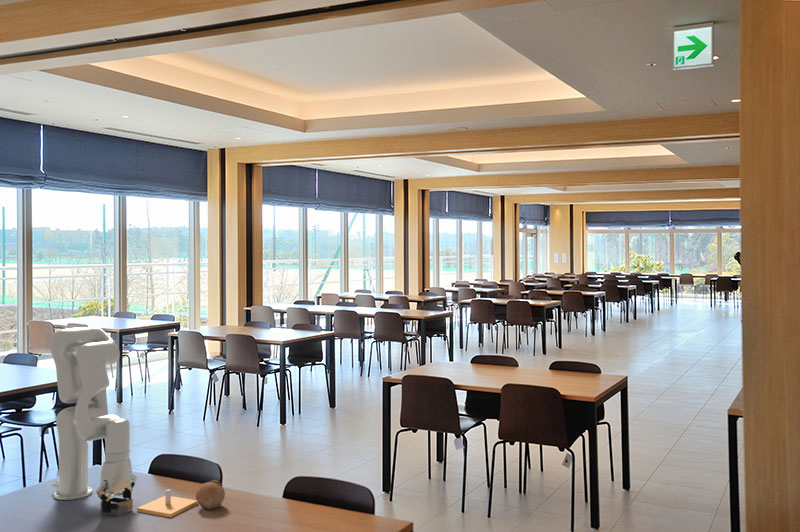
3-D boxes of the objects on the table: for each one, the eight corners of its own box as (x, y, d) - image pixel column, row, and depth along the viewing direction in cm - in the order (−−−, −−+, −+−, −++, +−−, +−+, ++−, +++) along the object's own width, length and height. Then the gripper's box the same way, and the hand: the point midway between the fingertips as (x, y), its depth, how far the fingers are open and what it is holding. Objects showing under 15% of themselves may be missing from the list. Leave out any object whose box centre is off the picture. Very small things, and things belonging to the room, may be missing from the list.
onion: (217, 512, 240) (228, 484, 243) (218, 514, 231) (230, 484, 235) (191, 504, 238) (202, 475, 242) (191, 505, 229) (203, 475, 233)
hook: (140, 486, 242) (122, 476, 240) (121, 512, 243) (103, 502, 242) (145, 475, 249) (128, 465, 248) (127, 500, 251) (110, 490, 249)
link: (100, 513, 230) (100, 501, 230) (114, 507, 235) (114, 495, 235) (119, 516, 227) (119, 504, 227) (132, 510, 232) (132, 498, 232)
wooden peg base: (137, 511, 232) (137, 493, 232) (165, 498, 245) (165, 481, 245) (170, 517, 226) (170, 499, 226) (197, 504, 239) (198, 486, 239)
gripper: (127, 448, 241) (127, 498, 241) (88, 461, 224) (87, 514, 224) (144, 451, 238) (144, 501, 238) (106, 464, 222) (105, 518, 222)
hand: (116, 507), depth 231 cm, fingers open, 8 cm apart
